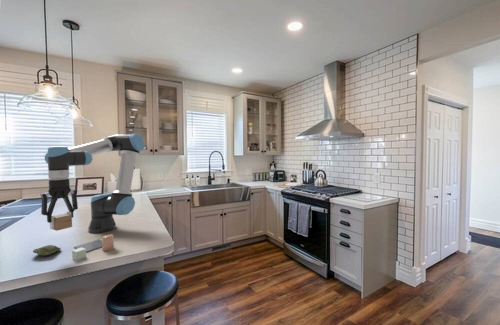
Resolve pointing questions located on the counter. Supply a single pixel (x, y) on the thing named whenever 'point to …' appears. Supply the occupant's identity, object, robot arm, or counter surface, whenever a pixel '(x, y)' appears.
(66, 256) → the counter surface
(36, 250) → the seashell
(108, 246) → the pink glossy pebble
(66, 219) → the walnut cube
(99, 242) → the coaster
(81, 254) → the sage block
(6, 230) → the counter surface
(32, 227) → the counter surface
